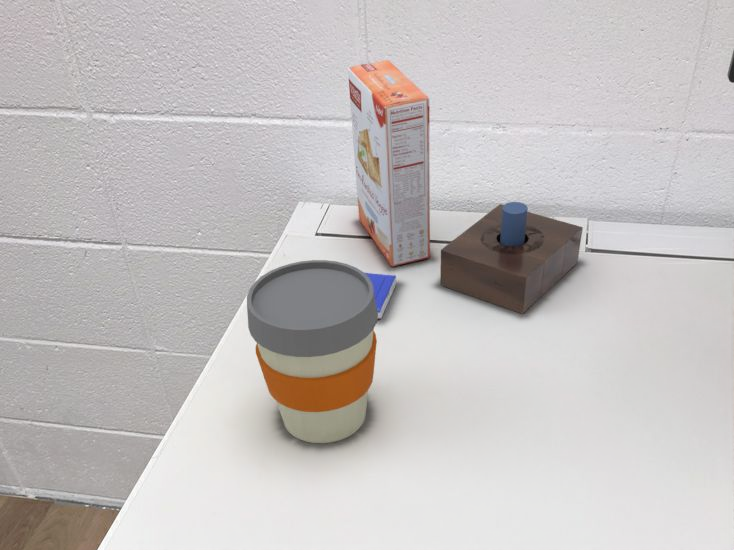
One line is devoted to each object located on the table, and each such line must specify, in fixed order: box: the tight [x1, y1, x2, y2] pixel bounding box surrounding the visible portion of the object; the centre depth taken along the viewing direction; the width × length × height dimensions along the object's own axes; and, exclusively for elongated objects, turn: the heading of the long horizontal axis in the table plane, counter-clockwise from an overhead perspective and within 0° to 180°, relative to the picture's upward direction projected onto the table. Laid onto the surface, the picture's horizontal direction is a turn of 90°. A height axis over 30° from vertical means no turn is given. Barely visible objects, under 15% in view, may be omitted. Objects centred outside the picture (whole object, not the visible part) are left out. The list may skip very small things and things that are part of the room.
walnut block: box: [439, 203, 584, 315], centre depth 101 cm, size 14×12×5 cm
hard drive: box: [364, 272, 397, 320], centre depth 101 cm, size 2×8×12 cm
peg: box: [500, 201, 529, 247], centre depth 100 cm, size 3×3×9 cm
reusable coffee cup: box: [246, 259, 379, 444], centre depth 81 cm, size 13×13×15 cm
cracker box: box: [347, 59, 431, 268], centre depth 103 cm, size 14×6×21 cm, turn 18°
